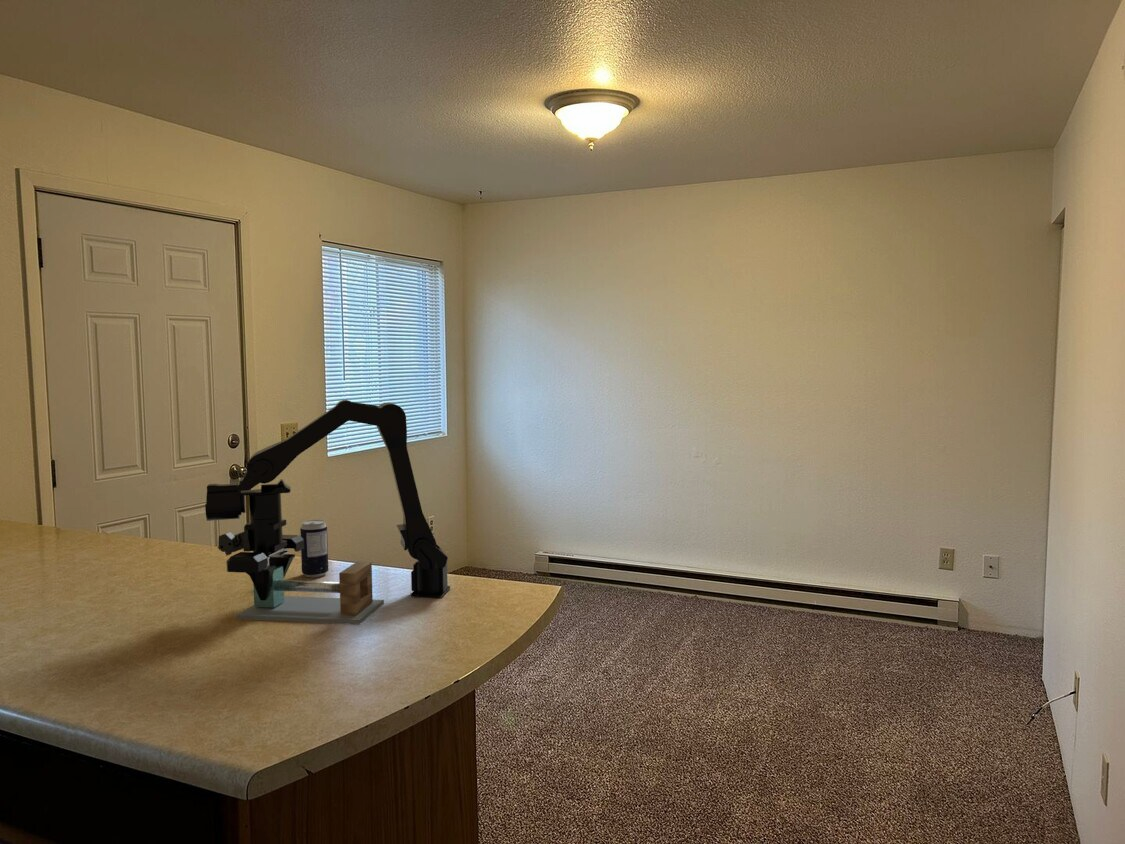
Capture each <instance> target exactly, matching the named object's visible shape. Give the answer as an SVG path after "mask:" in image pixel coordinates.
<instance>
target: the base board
mask: <svg viewBox="0 0 1125 844" xmlns="http://www.w3.org/2000/svg"><path fill="white" fill-rule="evenodd" d="M384 604H385V599H376V598H375V599H374V598H373V603H372V604H370V605H369V606H368V607H367V608H366V609H364V610H363V611H362V612H361V613H359V614H358V615H357V616H341V612H340V597H322V596H317V597H315V596H297V595H296V596H293V595H291V596H290V595H284V602H282V603H280V604H279V605H277V606H276V607H274V608H272V607H254V604H253V605H251V606H249V607H248V608H246V609H244V610H243V611H240V612H239V613H237V614H236V620H246V621H247V620H251V621H252V620H253V621H275V622H292V623H293V622H294V623H295V622H297V623H321V624H342V625H343V624H344V625H361V624H362V623H363V622H364V621H366V619H368V618H369V617H370V616H371V615H373V614H374V613H375V612H376V611H377V610H379V609H380V608H381V607H382V606H383V605H384Z"/></svg>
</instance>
